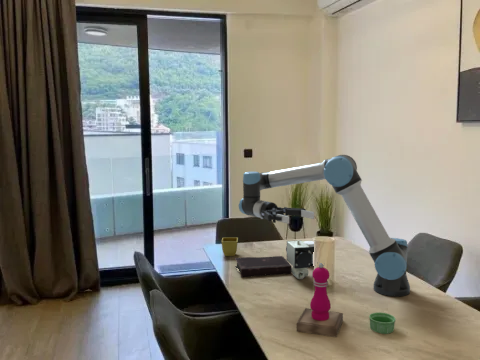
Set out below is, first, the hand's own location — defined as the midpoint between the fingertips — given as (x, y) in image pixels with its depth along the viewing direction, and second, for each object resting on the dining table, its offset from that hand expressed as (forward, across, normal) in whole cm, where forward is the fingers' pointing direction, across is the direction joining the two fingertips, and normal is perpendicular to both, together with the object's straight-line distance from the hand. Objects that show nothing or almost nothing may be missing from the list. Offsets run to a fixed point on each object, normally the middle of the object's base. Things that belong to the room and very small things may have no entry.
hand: (301, 217), depth 183 cm
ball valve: (-26, -24, -36) cm, 50 cm away
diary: (-45, -17, -36) cm, 60 cm away
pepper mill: (+18, +8, -33) cm, 38 cm away
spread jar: (-35, -43, -36) cm, 66 cm away
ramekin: (+33, -7, -36) cm, 50 cm away
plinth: (+18, +8, -36) cm, 41 cm away
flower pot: (-76, -20, -36) cm, 86 cm away
